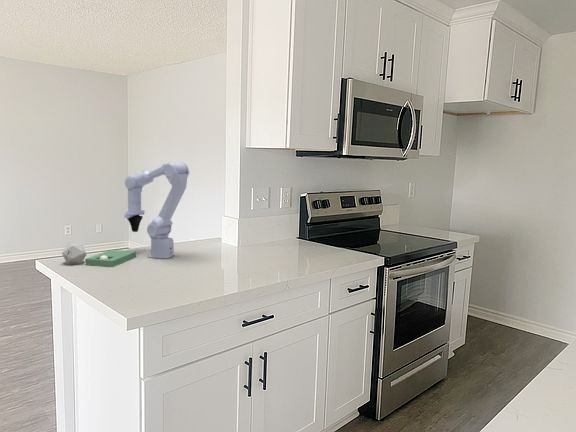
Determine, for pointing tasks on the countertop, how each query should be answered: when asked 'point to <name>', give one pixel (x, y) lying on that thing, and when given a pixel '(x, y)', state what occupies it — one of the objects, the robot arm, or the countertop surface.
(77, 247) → the die
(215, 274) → the countertop surface
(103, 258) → the ball
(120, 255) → the green
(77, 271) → the countertop surface
